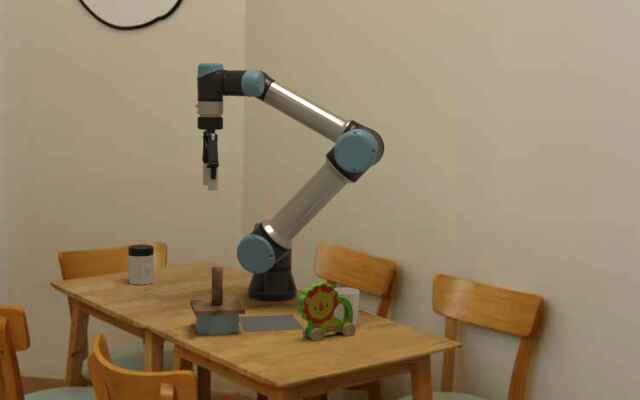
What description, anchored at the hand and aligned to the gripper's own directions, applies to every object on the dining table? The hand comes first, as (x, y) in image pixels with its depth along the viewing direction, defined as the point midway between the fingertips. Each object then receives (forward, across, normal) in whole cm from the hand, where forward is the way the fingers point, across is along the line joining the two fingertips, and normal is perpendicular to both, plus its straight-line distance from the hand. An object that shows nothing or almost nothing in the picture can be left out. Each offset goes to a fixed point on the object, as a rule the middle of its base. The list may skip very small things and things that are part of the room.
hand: (210, 187), depth 283 cm
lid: (+29, +33, -2) cm, 44 cm away
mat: (+35, +29, +13) cm, 47 cm away
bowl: (+35, +33, -2) cm, 48 cm away
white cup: (+35, +34, +33) cm, 59 cm away
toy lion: (+35, +45, +25) cm, 62 cm away
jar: (+35, -31, -19) cm, 50 cm away
